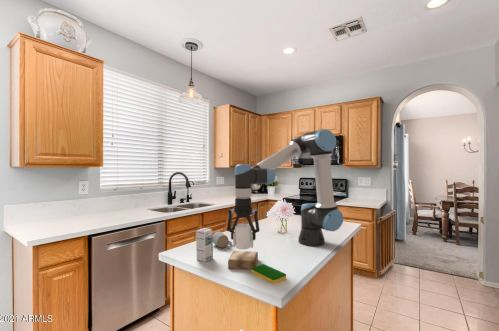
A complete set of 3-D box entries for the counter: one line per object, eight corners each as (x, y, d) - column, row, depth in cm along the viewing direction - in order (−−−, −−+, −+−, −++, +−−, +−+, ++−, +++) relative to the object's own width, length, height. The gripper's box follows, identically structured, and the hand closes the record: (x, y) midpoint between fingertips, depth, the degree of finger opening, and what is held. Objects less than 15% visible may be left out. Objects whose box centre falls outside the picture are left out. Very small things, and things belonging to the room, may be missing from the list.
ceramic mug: (217, 249, 135) (217, 235, 135) (211, 245, 142) (211, 232, 142) (234, 246, 141) (234, 232, 141) (228, 242, 148) (228, 229, 148)
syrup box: (205, 262, 117) (204, 231, 117) (196, 259, 120) (195, 229, 120) (213, 258, 122) (212, 228, 122) (204, 256, 125) (203, 227, 125)
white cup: (234, 244, 118) (234, 223, 118) (250, 244, 119) (250, 223, 119) (234, 250, 110) (234, 227, 110) (252, 249, 111) (252, 227, 111)
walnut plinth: (257, 259, 120) (257, 251, 120) (255, 269, 108) (255, 260, 108) (233, 258, 121) (233, 250, 121) (228, 268, 109) (228, 259, 109)
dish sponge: (263, 269, 110) (263, 263, 110) (286, 280, 99) (286, 273, 99) (251, 273, 105) (251, 267, 105) (273, 285, 94) (273, 279, 94)
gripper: (265, 196, 117) (265, 245, 117) (223, 196, 120) (223, 243, 119) (264, 198, 110) (264, 250, 109) (219, 198, 112) (219, 248, 112)
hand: (243, 246), depth 114 cm, fingers closed on white cup, 8 cm apart
